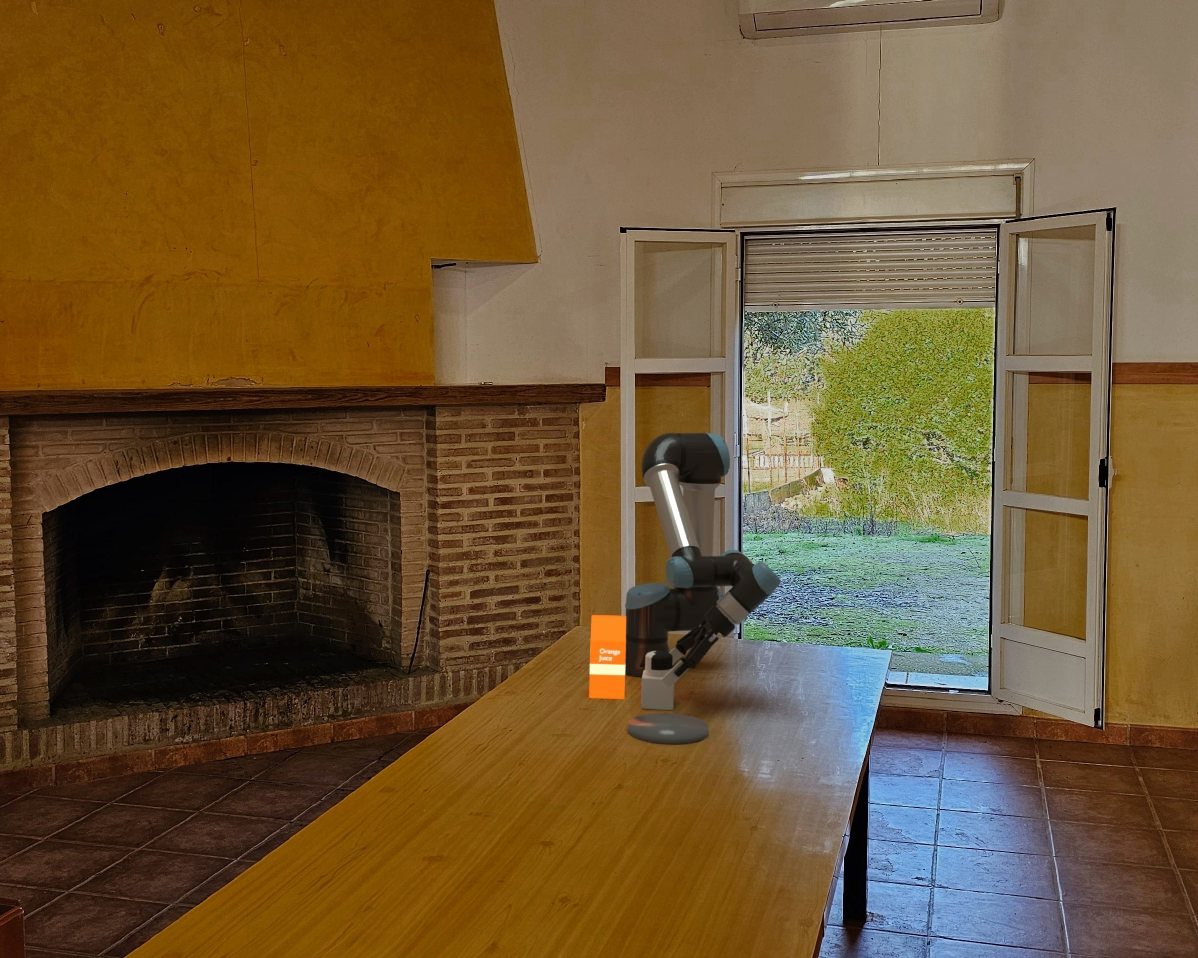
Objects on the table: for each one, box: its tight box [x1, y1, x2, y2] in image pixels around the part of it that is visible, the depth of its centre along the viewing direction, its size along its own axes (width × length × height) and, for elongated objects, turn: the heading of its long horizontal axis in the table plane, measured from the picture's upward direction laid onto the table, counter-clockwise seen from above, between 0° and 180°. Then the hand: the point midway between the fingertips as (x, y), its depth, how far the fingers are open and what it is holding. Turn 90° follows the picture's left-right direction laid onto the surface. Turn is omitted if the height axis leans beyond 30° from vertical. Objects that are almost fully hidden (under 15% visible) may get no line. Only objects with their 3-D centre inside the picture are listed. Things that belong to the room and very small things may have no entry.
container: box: [640, 651, 676, 711], centre depth 270 cm, size 8×8×13 cm
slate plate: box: [627, 712, 709, 745], centre depth 250 cm, size 18×18×2 cm
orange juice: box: [588, 614, 626, 700], centre depth 279 cm, size 8×9×20 cm
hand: (662, 676), depth 269 cm, fingers open, 13 cm apart
